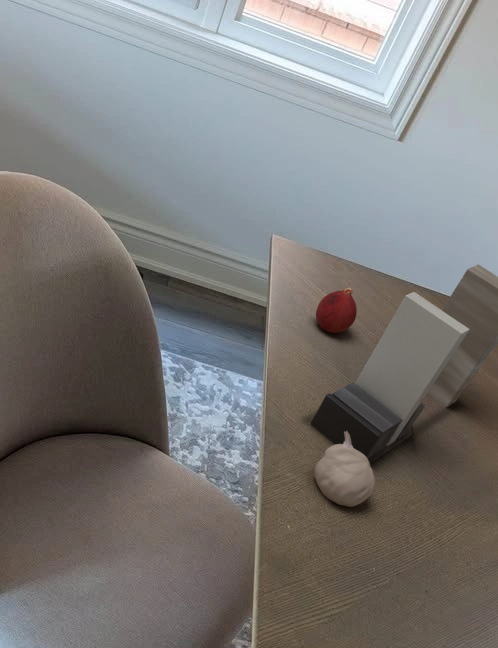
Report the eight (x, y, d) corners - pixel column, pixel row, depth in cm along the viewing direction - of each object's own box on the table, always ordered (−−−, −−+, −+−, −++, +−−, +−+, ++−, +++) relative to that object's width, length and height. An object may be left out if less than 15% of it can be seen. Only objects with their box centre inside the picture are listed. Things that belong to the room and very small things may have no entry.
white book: (348, 404, 102) (414, 291, 90) (394, 441, 99) (470, 329, 86) (339, 409, 101) (405, 295, 88) (387, 446, 98) (462, 333, 85)
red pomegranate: (314, 342, 113) (337, 296, 107) (303, 319, 117) (324, 274, 111) (348, 346, 115) (373, 301, 109) (336, 323, 118) (359, 279, 113)
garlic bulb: (354, 481, 93) (384, 434, 87) (363, 520, 88) (396, 473, 83) (304, 471, 92) (331, 423, 86) (311, 510, 87) (340, 462, 82)
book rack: (404, 372, 113) (474, 261, 100) (455, 409, 110) (534, 299, 96) (304, 427, 98) (371, 304, 85) (359, 472, 94) (438, 351, 81)
